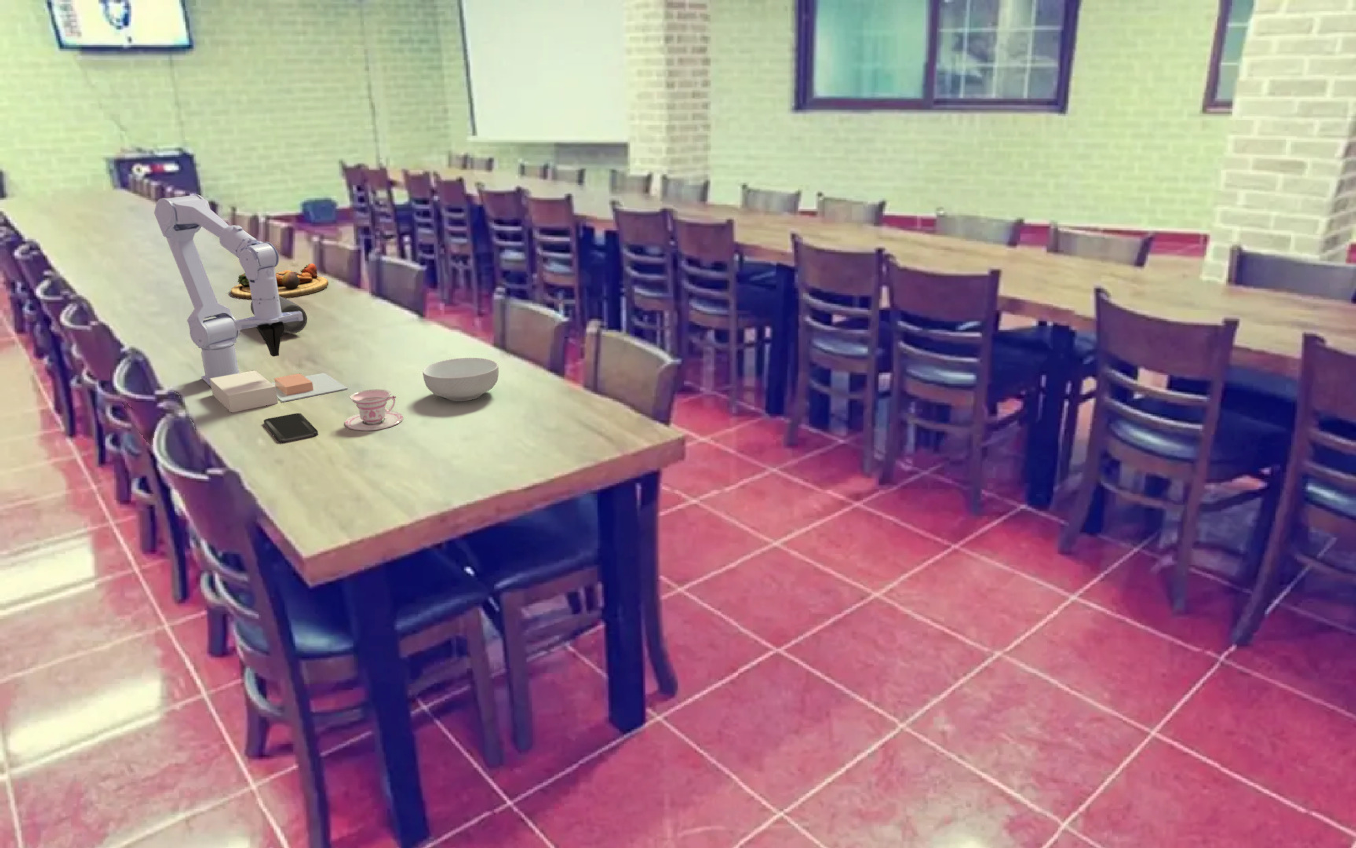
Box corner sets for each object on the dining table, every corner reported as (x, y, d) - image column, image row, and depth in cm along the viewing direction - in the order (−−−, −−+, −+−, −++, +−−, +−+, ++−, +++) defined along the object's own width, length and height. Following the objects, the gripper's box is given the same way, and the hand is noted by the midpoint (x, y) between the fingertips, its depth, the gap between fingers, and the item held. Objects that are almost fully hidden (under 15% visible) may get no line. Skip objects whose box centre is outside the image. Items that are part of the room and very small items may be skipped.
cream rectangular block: (212, 394, 217) (209, 378, 216) (257, 386, 223) (254, 370, 222) (231, 412, 206) (228, 395, 204) (278, 403, 211) (275, 386, 210)
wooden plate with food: (310, 277, 348) (306, 255, 346) (343, 290, 326) (339, 266, 323) (219, 291, 329) (215, 268, 326) (248, 306, 306) (243, 281, 304)
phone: (279, 440, 188) (262, 419, 199) (280, 445, 188) (263, 424, 199) (319, 432, 192) (300, 412, 203) (320, 437, 192) (301, 417, 204)
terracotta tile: (299, 373, 225) (301, 381, 226) (274, 378, 222) (275, 386, 222) (312, 382, 218) (313, 390, 219) (285, 387, 215) (287, 395, 216)
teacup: (343, 434, 193) (339, 406, 191) (346, 415, 204) (342, 388, 202) (403, 428, 196) (400, 400, 194) (403, 410, 207) (400, 383, 205)
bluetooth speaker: (251, 326, 279) (245, 293, 275) (282, 320, 284) (277, 288, 281) (278, 340, 263) (273, 305, 259) (311, 334, 269) (306, 300, 265)
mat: (261, 385, 224) (261, 384, 224) (324, 373, 232) (324, 372, 232) (282, 402, 212) (282, 401, 212) (347, 389, 221) (347, 387, 221)
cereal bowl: (493, 381, 226) (490, 353, 223) (506, 402, 211) (504, 372, 209) (421, 389, 220) (418, 361, 218) (430, 411, 205) (427, 381, 203)
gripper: (236, 305, 204) (246, 364, 209) (303, 296, 212) (312, 353, 217) (227, 299, 209) (237, 357, 214) (293, 290, 218) (302, 347, 222)
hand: (274, 355), depth 216 cm, fingers closed
